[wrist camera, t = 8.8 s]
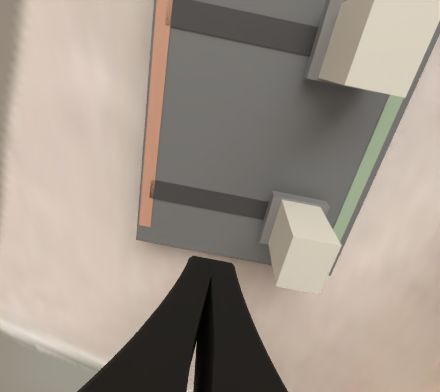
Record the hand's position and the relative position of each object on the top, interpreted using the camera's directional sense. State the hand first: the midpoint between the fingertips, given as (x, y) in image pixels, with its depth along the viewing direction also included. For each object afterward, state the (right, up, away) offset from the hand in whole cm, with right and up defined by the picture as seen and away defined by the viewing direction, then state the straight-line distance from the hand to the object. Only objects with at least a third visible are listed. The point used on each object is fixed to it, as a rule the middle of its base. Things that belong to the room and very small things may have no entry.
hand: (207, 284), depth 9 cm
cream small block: (+5, +8, +2) cm, 10 cm away
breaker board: (+3, +6, +5) cm, 8 cm away
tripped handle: (+4, +2, +5) cm, 7 cm away
